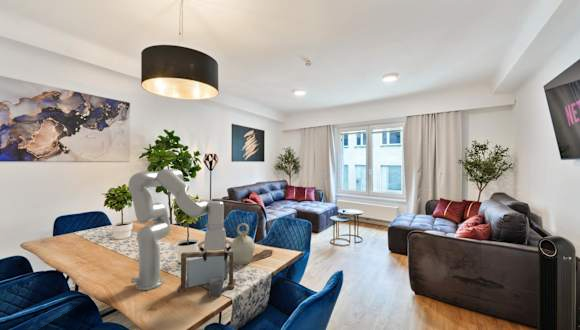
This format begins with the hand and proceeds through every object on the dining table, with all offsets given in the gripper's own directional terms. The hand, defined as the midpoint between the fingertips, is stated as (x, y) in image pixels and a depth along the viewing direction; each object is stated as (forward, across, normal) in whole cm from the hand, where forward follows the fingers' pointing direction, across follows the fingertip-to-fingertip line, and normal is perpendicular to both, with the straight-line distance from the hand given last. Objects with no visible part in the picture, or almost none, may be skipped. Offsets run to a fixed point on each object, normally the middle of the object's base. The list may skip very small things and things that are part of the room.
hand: (215, 260), depth 115 cm
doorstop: (+16, 0, +3) cm, 16 cm away
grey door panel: (+16, -6, +10) cm, 19 cm away
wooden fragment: (+16, +24, +44) cm, 53 cm away
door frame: (+16, -5, +6) cm, 18 cm away
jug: (+16, +11, +37) cm, 42 cm away
